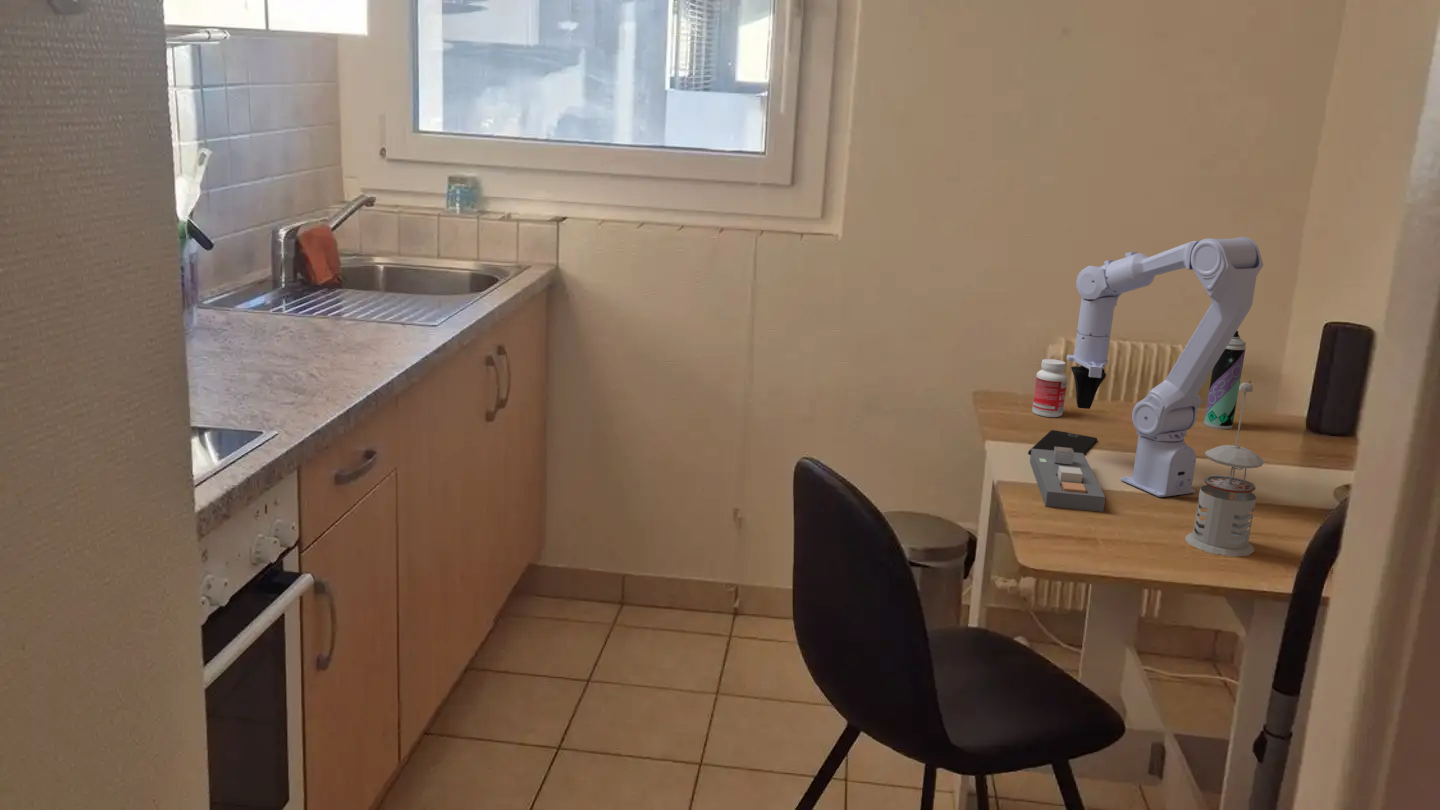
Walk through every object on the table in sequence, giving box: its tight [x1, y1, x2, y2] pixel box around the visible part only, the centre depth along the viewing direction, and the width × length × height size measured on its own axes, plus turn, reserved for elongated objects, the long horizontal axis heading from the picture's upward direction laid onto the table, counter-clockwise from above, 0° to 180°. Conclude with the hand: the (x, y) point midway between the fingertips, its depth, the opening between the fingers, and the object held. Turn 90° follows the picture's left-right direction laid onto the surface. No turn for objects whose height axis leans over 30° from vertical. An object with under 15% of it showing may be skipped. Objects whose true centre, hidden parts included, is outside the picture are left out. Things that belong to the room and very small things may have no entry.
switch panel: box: [1029, 448, 1106, 513], centre depth 211 cm, size 24×9×3 cm, turn 172°
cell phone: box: [1027, 429, 1098, 456], centre depth 233 cm, size 9×18×1 cm, turn 152°
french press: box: [1185, 382, 1265, 558], centre depth 185 cm, size 10×12×25 cm
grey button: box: [1057, 466, 1083, 483], centre depth 206 cm, size 3×3×2 cm
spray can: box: [1203, 330, 1247, 430], centre depth 252 cm, size 6×6×20 cm
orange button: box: [1061, 482, 1086, 493], centre depth 202 cm, size 3×3×2 cm
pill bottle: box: [1031, 358, 1068, 418], centre depth 255 cm, size 6×6×11 cm
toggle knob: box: [1053, 447, 1074, 464], centre depth 215 cm, size 2×3×2 cm
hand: (1083, 407), depth 225 cm, fingers closed
